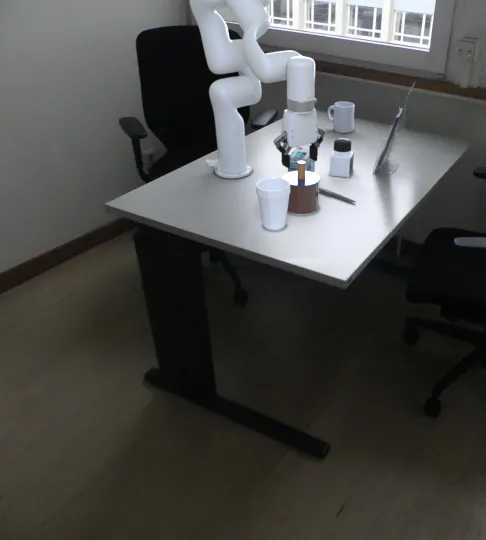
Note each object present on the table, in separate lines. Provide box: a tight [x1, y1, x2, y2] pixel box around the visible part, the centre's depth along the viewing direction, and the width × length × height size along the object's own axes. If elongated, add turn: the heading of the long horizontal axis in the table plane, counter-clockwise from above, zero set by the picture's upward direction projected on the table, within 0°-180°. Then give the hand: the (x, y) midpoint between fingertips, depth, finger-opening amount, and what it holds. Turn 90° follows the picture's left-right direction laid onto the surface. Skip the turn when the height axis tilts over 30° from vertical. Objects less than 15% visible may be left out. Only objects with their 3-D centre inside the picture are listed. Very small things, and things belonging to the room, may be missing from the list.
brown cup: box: [287, 182, 320, 215], centre depth 161 cm, size 10×10×10 cm
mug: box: [326, 101, 355, 134], centre depth 225 cm, size 12×8×11 cm
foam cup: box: [255, 177, 290, 230], centre depth 150 cm, size 10×9×13 cm
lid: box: [282, 161, 321, 187], centre depth 157 cm, size 11×11×6 cm
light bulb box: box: [287, 146, 316, 173], centre depth 177 cm, size 11×7×11 cm, turn 167°
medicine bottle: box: [329, 137, 355, 178], centre depth 185 cm, size 7×7×12 cm
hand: (299, 162), depth 156 cm, fingers open, 9 cm apart
